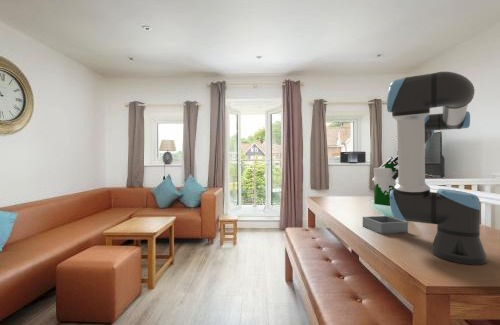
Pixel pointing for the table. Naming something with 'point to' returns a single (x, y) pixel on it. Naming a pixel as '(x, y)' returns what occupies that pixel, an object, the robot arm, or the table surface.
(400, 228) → the tray
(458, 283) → the table surface
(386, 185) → the soya milk
